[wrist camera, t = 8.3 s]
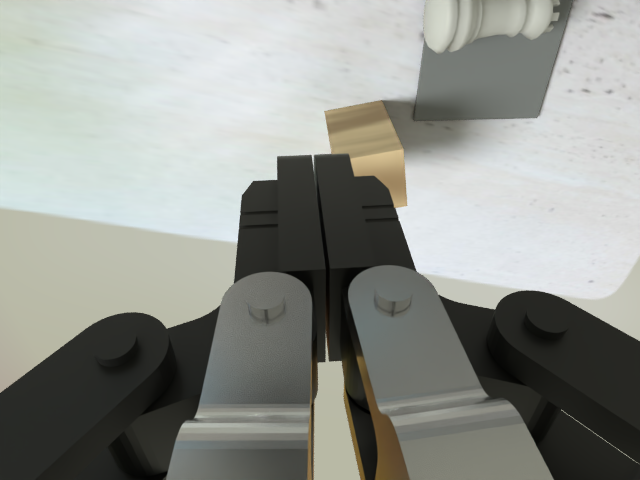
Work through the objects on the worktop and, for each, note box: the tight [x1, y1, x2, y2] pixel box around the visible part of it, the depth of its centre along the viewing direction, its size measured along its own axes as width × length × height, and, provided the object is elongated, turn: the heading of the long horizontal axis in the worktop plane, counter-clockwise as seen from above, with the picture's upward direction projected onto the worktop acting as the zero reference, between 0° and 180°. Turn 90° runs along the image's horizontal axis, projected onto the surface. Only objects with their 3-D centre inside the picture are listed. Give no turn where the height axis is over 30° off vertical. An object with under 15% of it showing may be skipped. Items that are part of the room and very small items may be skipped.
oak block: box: [324, 100, 407, 208], centre depth 35 cm, size 4×4×8 cm
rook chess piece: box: [423, 0, 560, 54], centre depth 32 cm, size 4×4×8 cm
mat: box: [414, 0, 573, 121], centre depth 33 cm, size 16×10×1 cm, turn 0°
